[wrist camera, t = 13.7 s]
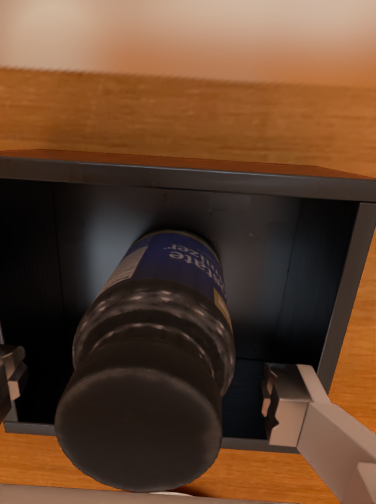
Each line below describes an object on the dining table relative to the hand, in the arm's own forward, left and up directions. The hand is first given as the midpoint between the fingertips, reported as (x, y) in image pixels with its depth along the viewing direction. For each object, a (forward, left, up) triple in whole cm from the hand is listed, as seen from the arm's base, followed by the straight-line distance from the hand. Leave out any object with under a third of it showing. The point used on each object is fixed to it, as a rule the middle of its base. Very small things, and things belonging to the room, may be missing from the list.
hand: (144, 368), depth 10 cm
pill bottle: (0, 0, -9) cm, 9 cm away
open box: (0, 0, -10) cm, 10 cm away
